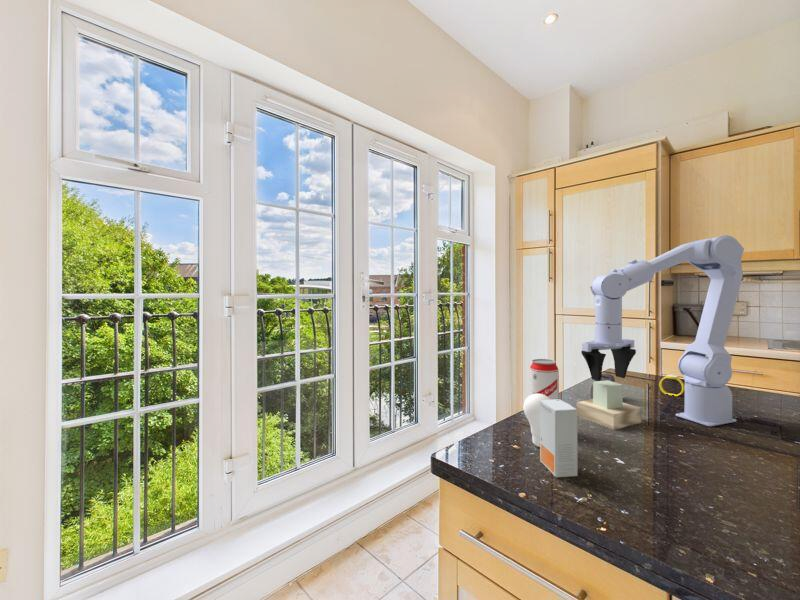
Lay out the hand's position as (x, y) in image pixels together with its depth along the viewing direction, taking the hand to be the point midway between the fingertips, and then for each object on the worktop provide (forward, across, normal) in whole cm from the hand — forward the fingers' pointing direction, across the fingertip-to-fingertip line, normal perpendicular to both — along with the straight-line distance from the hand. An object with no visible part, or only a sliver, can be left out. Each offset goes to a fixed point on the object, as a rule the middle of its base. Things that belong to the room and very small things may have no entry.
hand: (608, 378), depth 91 cm
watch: (+10, +34, +9) cm, 37 cm away
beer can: (+10, -19, 0) cm, 22 cm away
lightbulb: (+10, -26, -7) cm, 29 cm away
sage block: (+7, 0, 0) cm, 7 cm away
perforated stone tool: (+10, +10, +11) cm, 18 cm away
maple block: (+11, 0, 0) cm, 11 cm away
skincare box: (+10, -29, -16) cm, 35 cm away
